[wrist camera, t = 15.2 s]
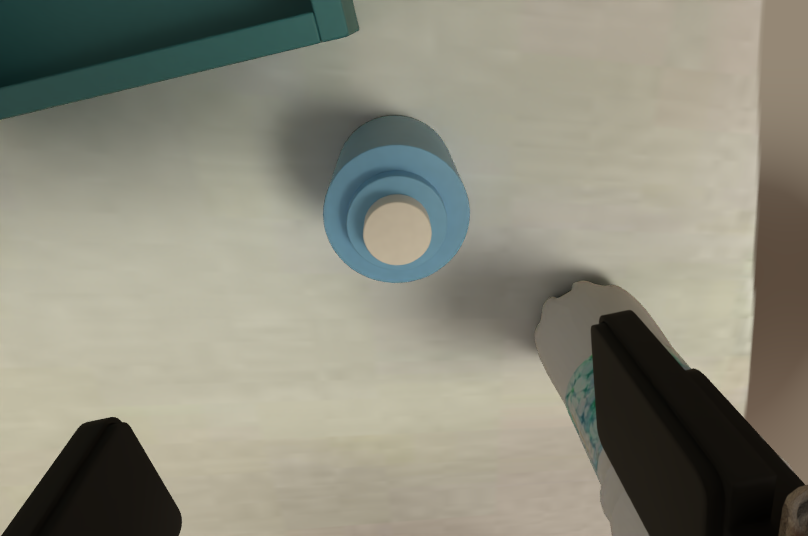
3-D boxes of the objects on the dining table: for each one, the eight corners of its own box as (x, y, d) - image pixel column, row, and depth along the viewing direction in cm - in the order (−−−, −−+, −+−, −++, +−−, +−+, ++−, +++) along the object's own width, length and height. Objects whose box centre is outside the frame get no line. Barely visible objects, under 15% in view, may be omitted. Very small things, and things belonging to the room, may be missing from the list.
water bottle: (353, 238, 29) (341, 316, 21) (323, 129, 26) (297, 176, 19) (461, 215, 28) (487, 287, 21) (441, 103, 26) (462, 139, 18)
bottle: (531, 372, 33) (701, 801, 15) (517, 281, 30) (708, 675, 12) (638, 351, 33) (946, 767, 15) (634, 256, 30) (1014, 629, 12)
